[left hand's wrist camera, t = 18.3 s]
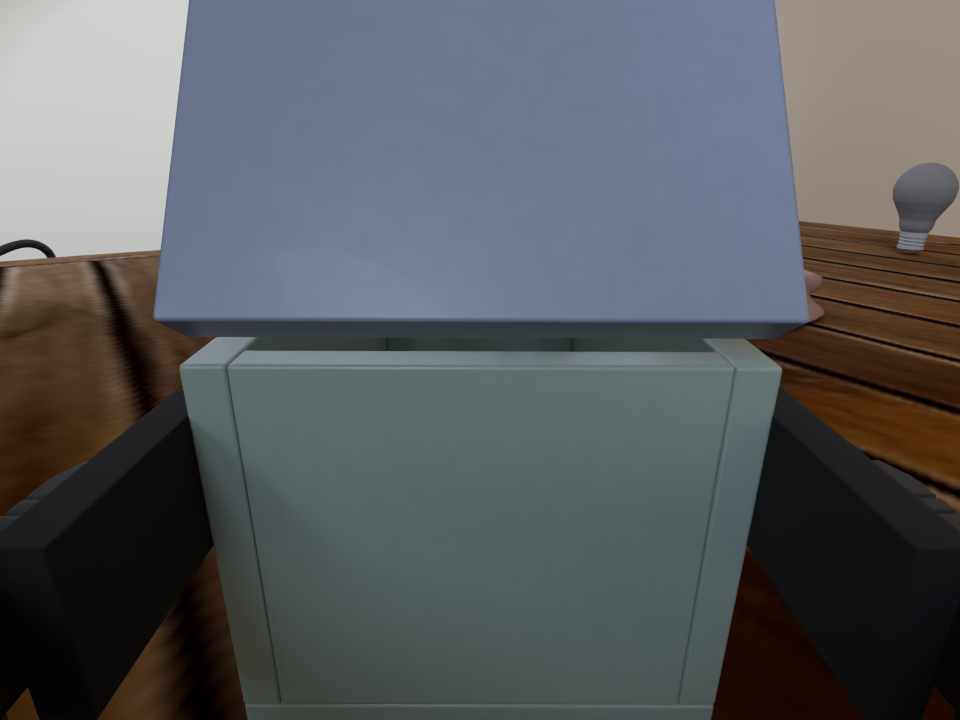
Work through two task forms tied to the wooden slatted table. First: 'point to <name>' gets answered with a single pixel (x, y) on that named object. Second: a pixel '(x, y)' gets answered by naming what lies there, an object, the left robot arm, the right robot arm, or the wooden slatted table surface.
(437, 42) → the lid
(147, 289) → the wooden slatted table surface
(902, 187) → the light bulb
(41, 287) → the wooden slatted table surface
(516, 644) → the chest
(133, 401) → the wooden slatted table surface
